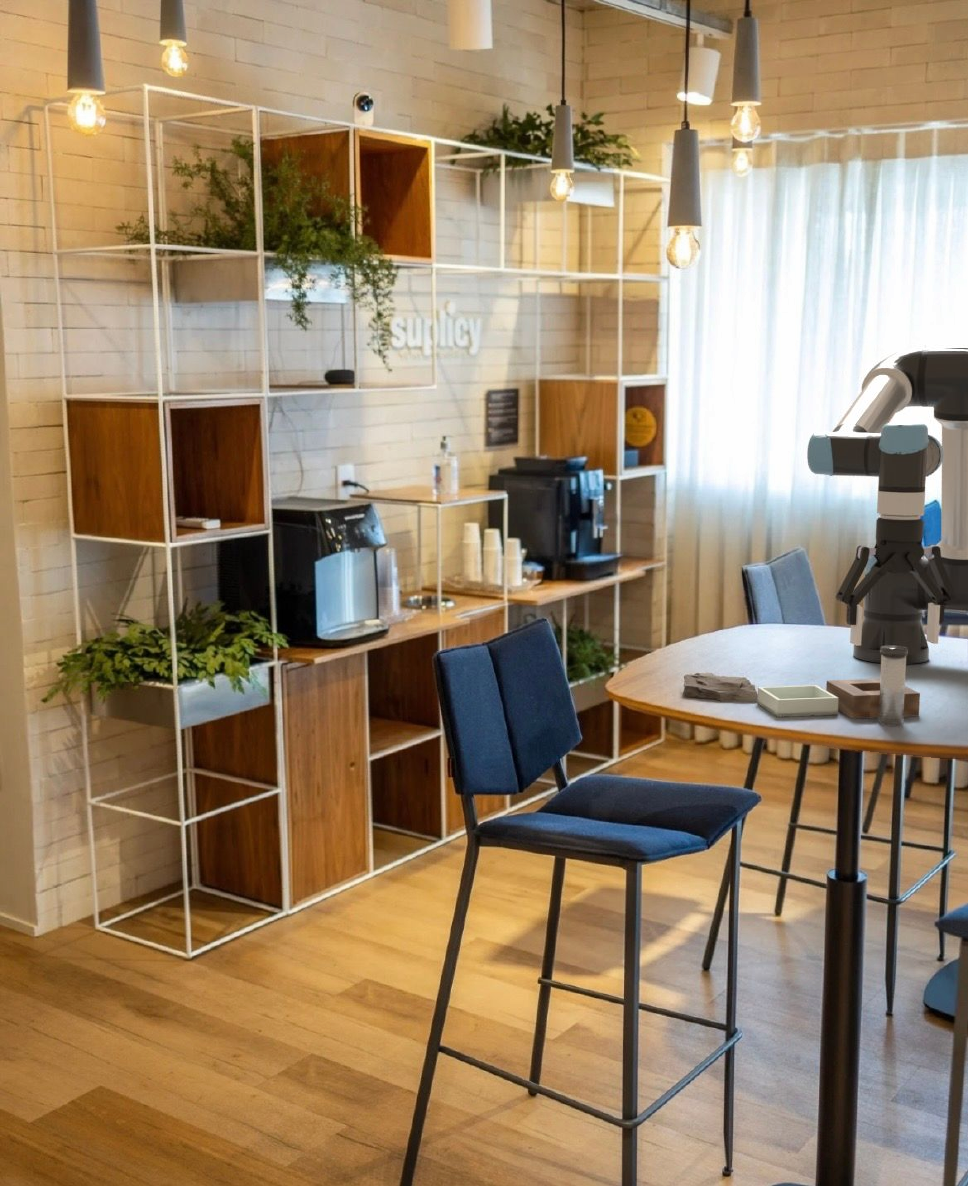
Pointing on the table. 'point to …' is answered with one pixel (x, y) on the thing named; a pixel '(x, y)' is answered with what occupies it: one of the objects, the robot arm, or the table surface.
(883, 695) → the capped bottle
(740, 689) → the rock
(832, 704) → the tray
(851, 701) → the bore block
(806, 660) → the table surface
